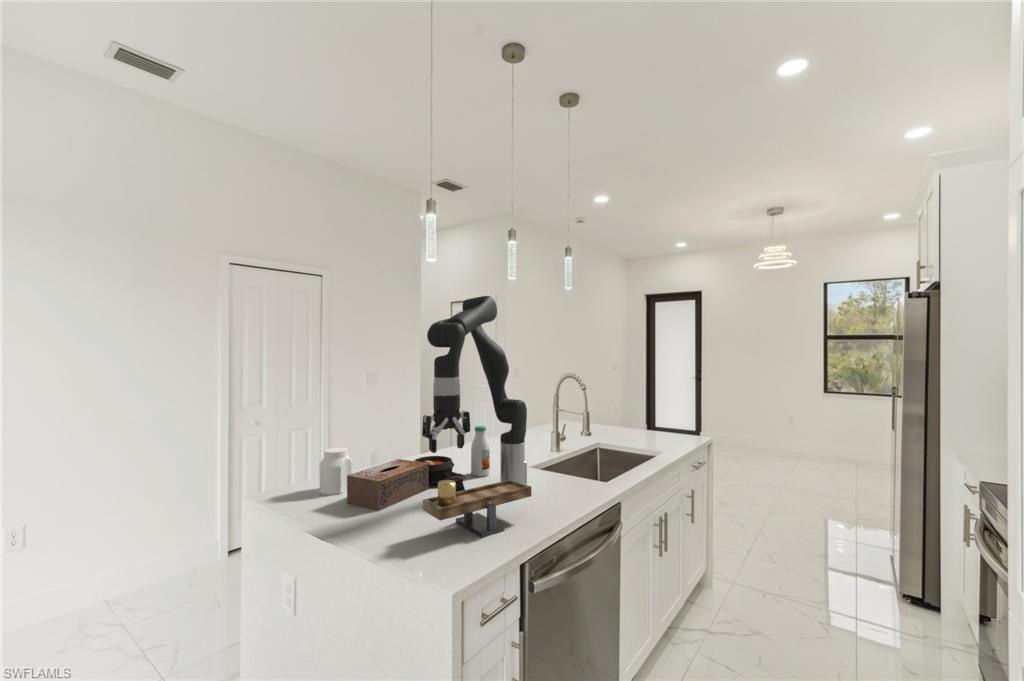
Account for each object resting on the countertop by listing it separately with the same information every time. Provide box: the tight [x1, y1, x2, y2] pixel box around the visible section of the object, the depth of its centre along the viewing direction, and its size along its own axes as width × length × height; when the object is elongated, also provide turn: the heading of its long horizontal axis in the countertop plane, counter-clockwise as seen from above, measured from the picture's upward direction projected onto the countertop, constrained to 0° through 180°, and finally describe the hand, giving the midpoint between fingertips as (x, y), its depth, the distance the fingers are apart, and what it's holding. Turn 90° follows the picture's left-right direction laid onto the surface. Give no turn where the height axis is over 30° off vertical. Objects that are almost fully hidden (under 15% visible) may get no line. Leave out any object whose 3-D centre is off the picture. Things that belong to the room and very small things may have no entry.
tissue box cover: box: [346, 458, 429, 512], centre depth 166 cm, size 26×14×10 cm, turn 152°
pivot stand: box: [455, 504, 505, 538], centre depth 138 cm, size 8×14×8 cm, turn 38°
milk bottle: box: [470, 425, 491, 478], centre depth 194 cm, size 8×8×20 cm
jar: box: [318, 447, 353, 496], centre depth 173 cm, size 12×10×15 cm
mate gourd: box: [445, 472, 466, 492], centre depth 161 cm, size 7×8×10 cm
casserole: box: [413, 455, 465, 486], centre depth 185 cm, size 25×19×8 cm
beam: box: [422, 479, 532, 522], centre depth 138 cm, size 32×10×3 cm, turn 128°
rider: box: [437, 480, 456, 507], centre depth 132 cm, size 5×5×6 cm
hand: (447, 450), depth 132 cm, fingers open, 8 cm apart
